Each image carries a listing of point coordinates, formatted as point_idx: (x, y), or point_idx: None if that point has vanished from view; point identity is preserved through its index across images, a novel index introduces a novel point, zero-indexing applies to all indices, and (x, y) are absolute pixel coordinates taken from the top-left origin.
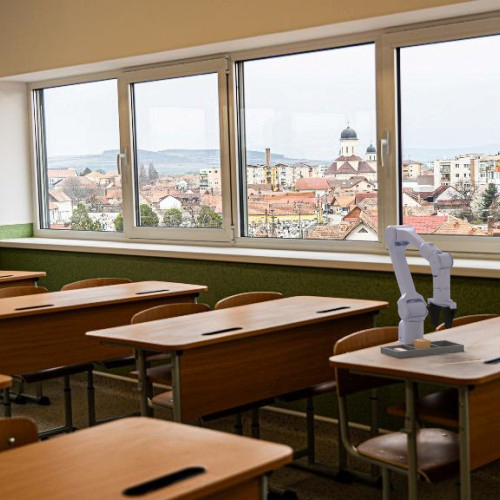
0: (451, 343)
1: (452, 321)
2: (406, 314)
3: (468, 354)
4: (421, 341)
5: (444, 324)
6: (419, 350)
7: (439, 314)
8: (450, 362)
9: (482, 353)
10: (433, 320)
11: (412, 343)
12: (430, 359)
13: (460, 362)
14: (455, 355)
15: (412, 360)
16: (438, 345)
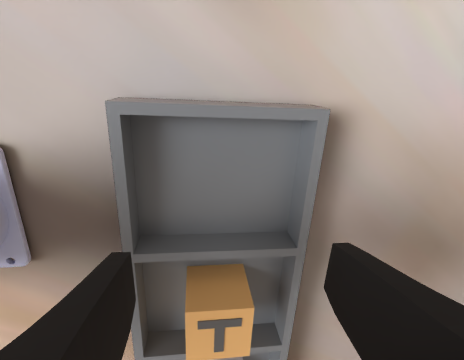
0: (204, 116)
1: (407, 281)
2: None
3: (361, 117)
4: (249, 349)
5: (340, 323)
6: (287, 346)
7: (73, 345)
8: (418, 273)
9: (393, 27)
10: (122, 348)
11: (134, 320)
12: None
13: (444, 245)
14: (337, 186)
15: (306, 356)
16: (131, 158)
